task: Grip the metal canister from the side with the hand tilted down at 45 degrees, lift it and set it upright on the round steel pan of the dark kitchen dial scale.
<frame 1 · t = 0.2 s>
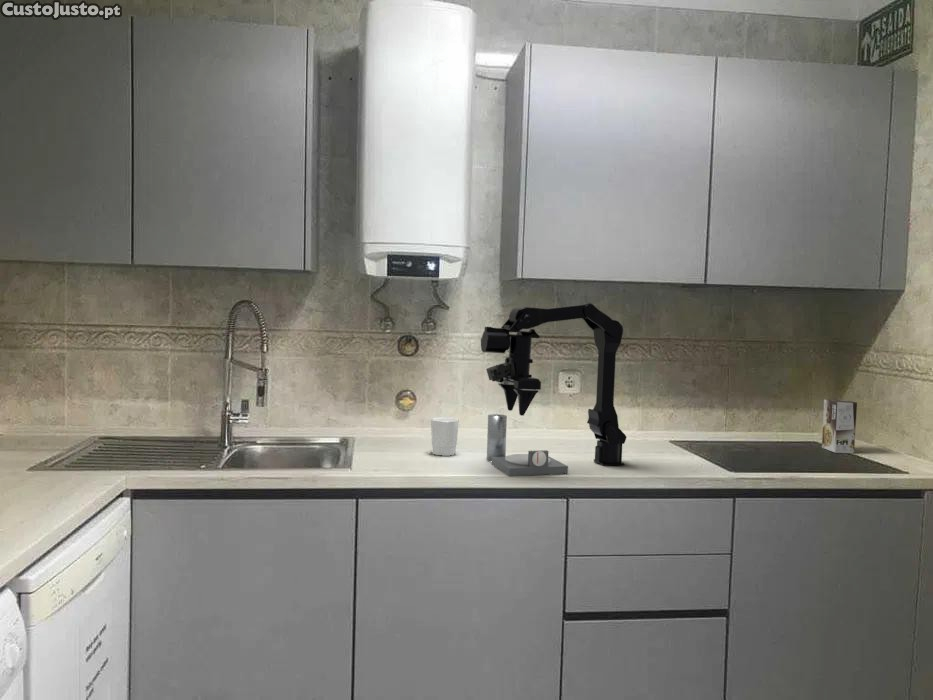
hand: (515, 412, 194), 14 cm above the countertop, tool pointing down, fingers open, 9 cm apart
scale: (528, 469, 192), on the countertop
white cup: (444, 454, 209), on the countertop
coffee box: (837, 451, 232), on the countertop
metal canister: (496, 460, 202), on the countertop
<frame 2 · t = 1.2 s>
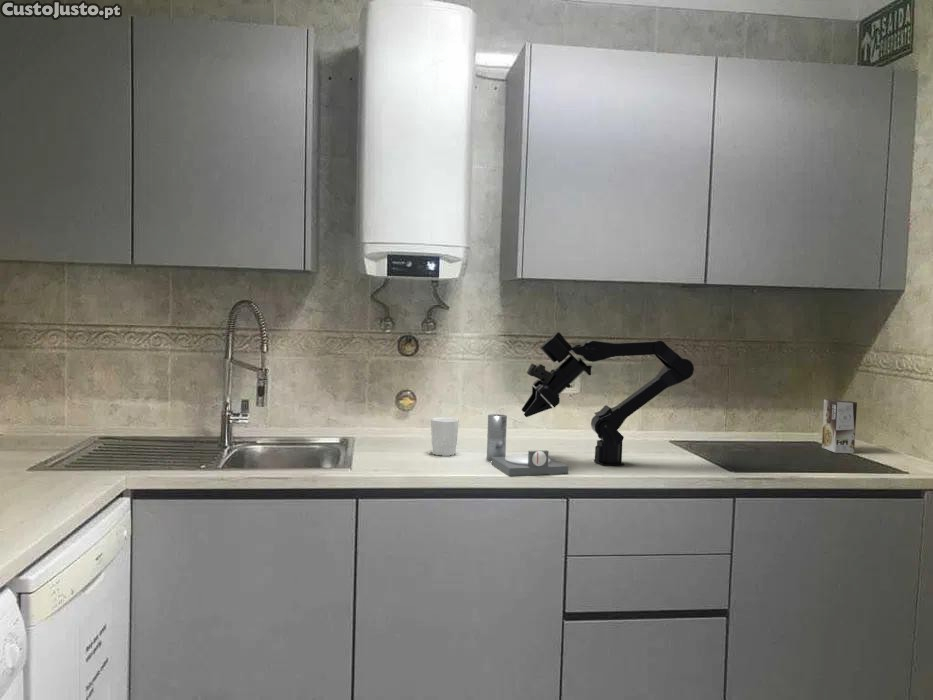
hand: (523, 413, 201), 13 cm above the countertop, tool tilted 45°, fingers open, 9 cm apart
nothing on the countertop moved.
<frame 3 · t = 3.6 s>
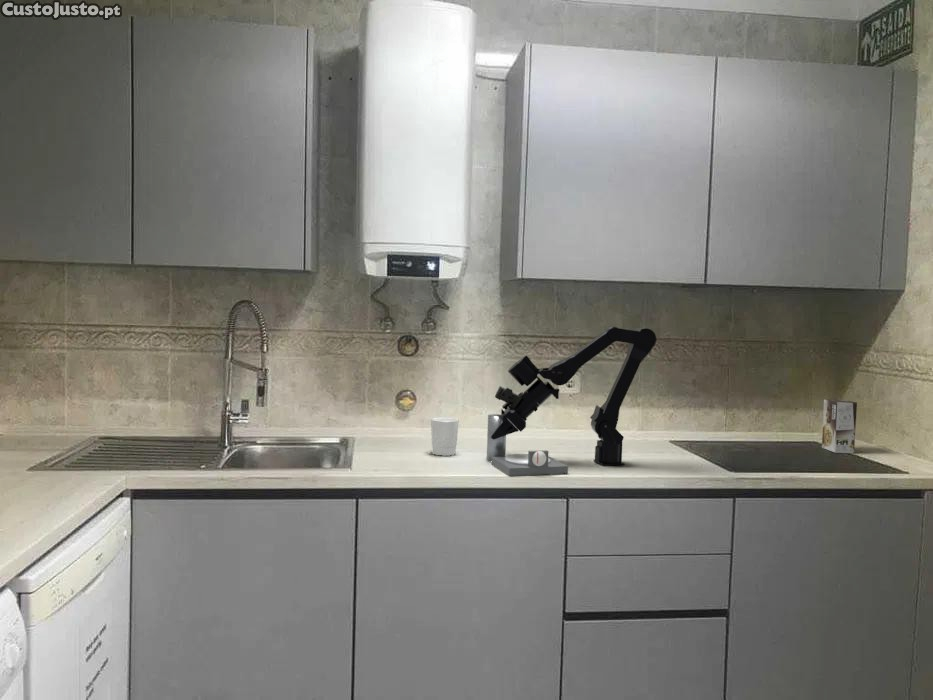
hand: (491, 436, 202), 7 cm above the countertop, tool tilted 45°, fingers closed on metal canister, 5 cm apart
metal canister: (495, 460, 202), on the countertop, touching gripper
everything else where it was.
when the fingers open (10 cm above the countertop, at t = 6.8 s): metal canister stays where it is, resting on scale.
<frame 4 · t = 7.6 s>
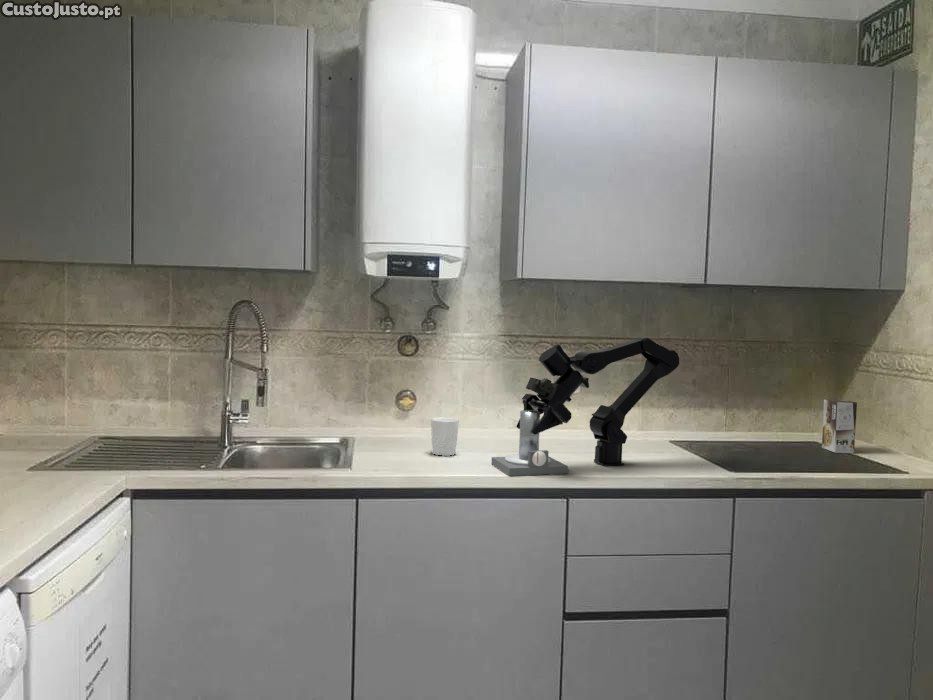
hand: (525, 430, 192), 10 cm above the countertop, tool tilted 45°, fingers open, 9 cm apart
metal canister: (528, 458, 193), point 3 cm above the countertop, touching scale
everything else where it was.
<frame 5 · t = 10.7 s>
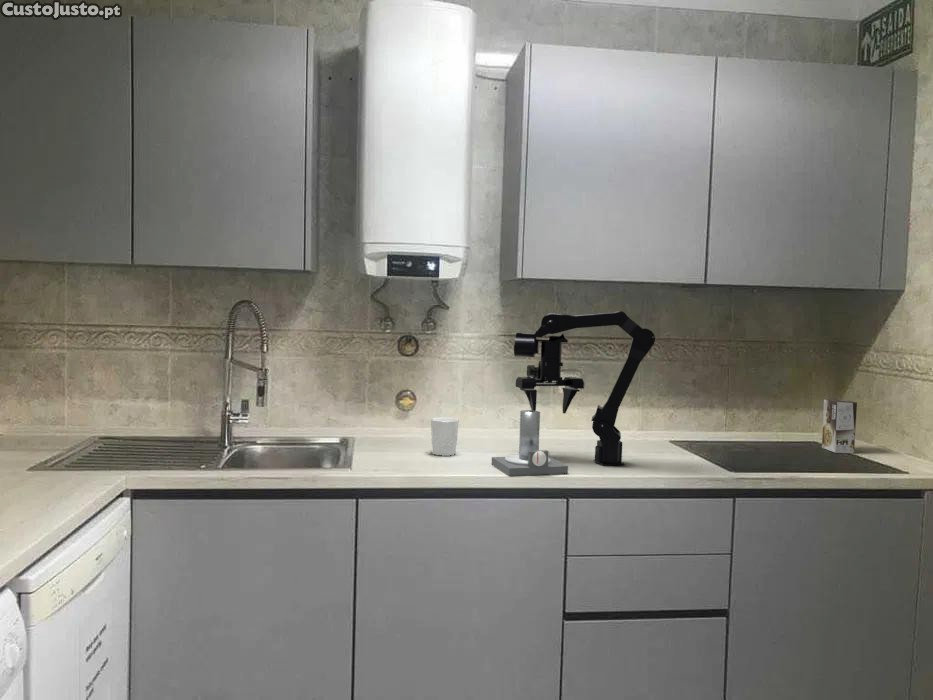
hand: (549, 413, 205), 13 cm above the countertop, tool pointing down, fingers open, 9 cm apart
nothing on the countertop moved.
at the end: metal canister inside the target area on the scale (0.3 cm from its centre), point 2.6 cm above the scale's base; metal canister tilted 0°; the gripper is holding nothing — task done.
